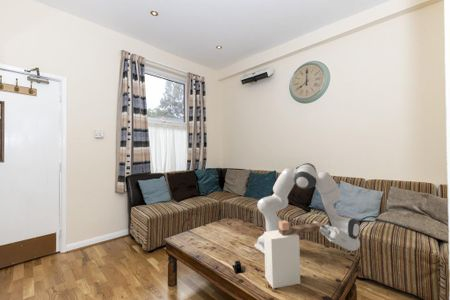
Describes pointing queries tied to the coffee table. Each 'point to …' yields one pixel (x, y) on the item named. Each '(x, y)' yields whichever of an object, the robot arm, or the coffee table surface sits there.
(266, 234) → the pedestal
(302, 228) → the walnut strip
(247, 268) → the coffee table surface
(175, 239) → the coffee table surface
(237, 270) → the black angular part
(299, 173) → the robot arm
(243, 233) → the coffee table surface
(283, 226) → the terracotta cube
